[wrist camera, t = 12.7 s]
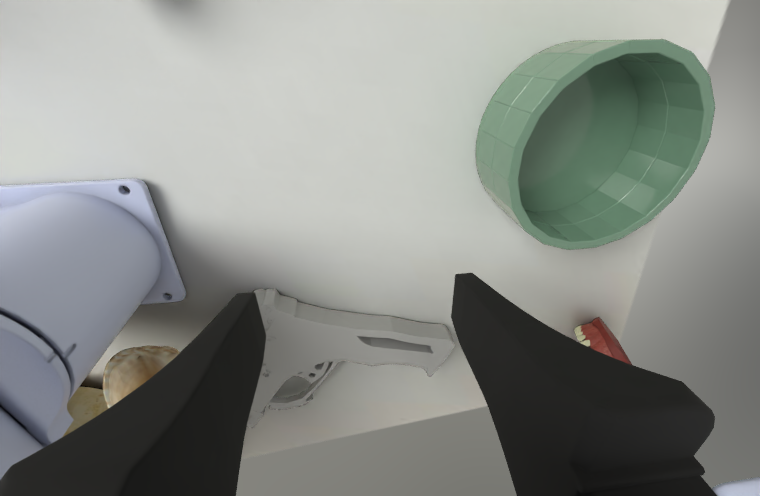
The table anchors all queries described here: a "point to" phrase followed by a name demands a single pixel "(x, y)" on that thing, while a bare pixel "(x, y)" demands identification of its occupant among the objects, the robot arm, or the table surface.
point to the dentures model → (600, 339)
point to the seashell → (133, 370)
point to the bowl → (594, 138)
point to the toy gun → (334, 346)
